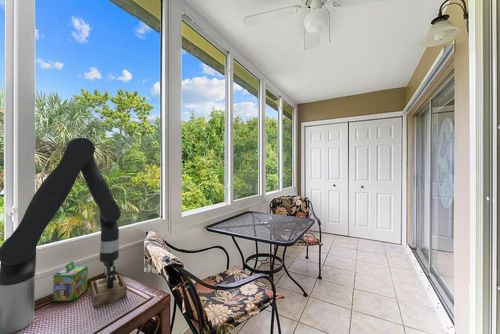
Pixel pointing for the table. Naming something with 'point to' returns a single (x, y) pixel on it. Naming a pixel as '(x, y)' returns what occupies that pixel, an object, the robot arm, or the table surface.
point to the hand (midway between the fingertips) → (108, 283)
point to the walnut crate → (108, 293)
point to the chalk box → (70, 283)
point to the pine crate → (102, 285)
